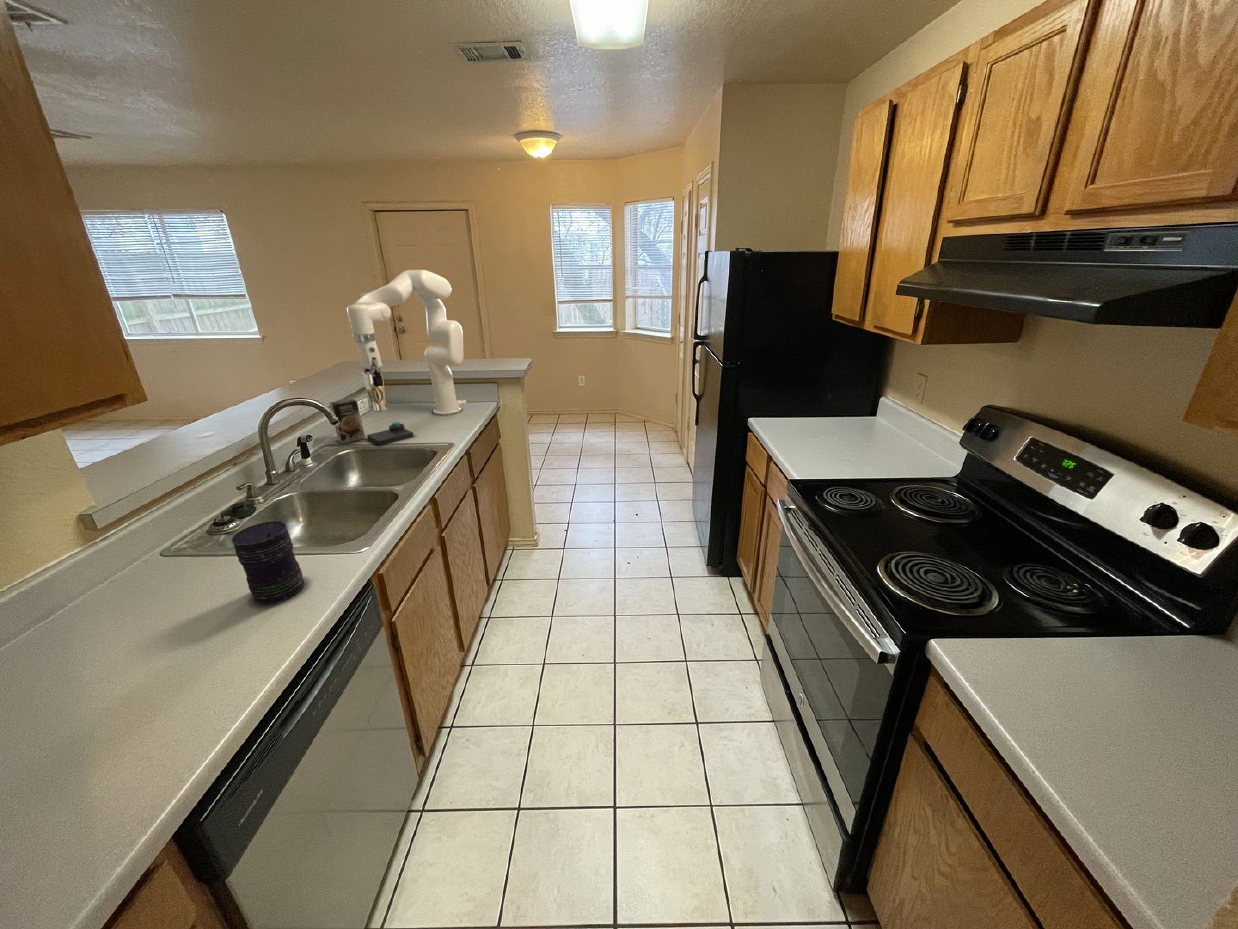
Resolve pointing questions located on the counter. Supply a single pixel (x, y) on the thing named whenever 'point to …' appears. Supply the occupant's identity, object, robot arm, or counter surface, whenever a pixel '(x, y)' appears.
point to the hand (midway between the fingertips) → (374, 384)
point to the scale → (390, 435)
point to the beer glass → (375, 392)
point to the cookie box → (348, 420)
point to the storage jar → (269, 562)
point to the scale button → (396, 424)
